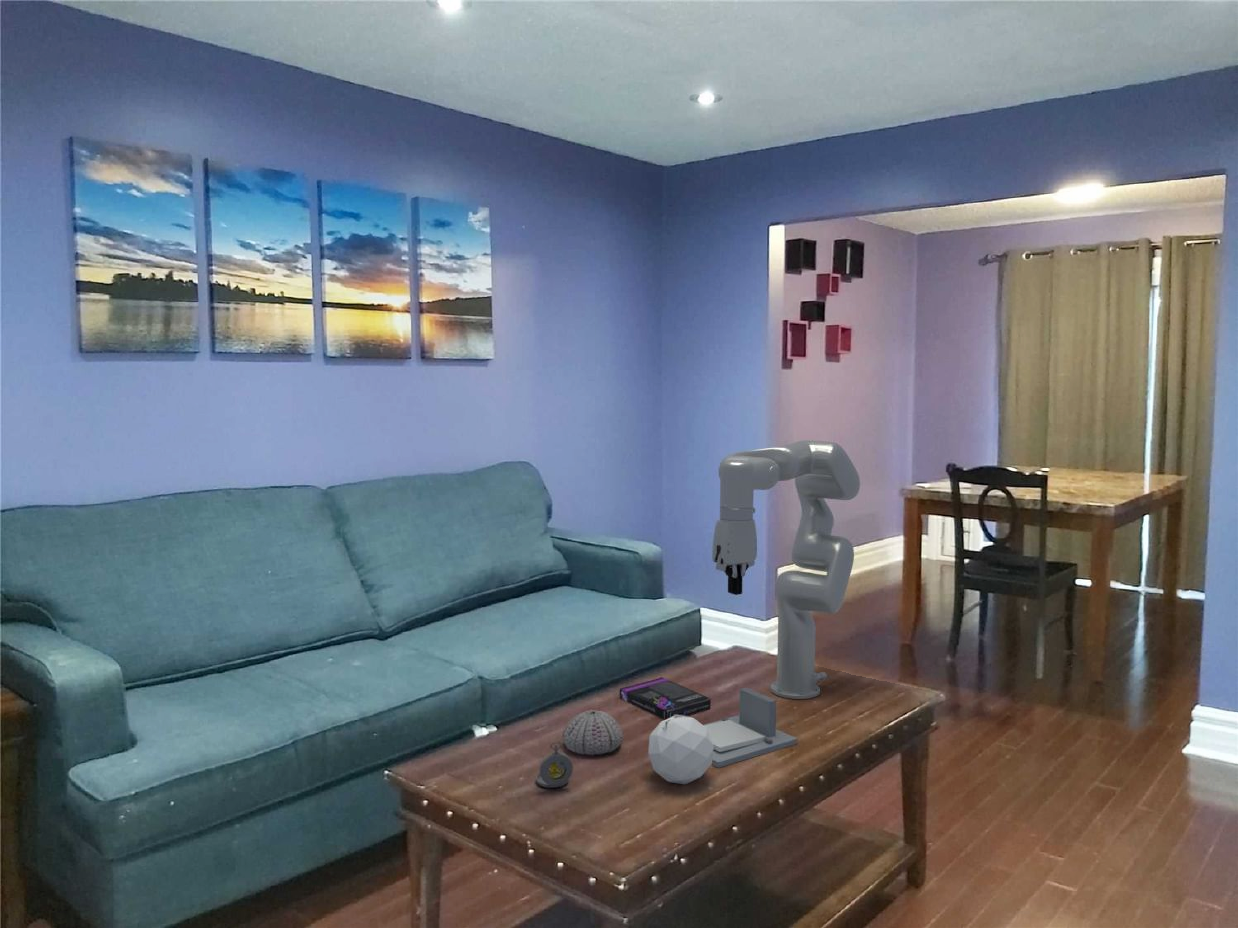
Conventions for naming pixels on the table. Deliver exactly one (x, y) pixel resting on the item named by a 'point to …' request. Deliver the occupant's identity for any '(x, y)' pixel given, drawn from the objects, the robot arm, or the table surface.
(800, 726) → the table surface
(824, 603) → the robot arm
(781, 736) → the board
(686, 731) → the geodesic sphere
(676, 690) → the box
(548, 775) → the pocket watch
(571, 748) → the sea urchin shell
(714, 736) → the tile
